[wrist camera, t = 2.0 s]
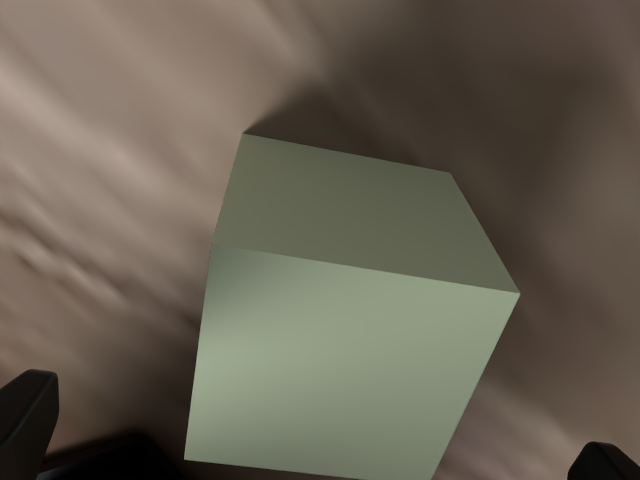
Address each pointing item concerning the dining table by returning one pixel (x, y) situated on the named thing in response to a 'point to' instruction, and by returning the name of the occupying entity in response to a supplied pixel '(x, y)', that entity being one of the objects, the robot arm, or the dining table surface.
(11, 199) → the dining table surface
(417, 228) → the green block
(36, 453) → the robot arm
